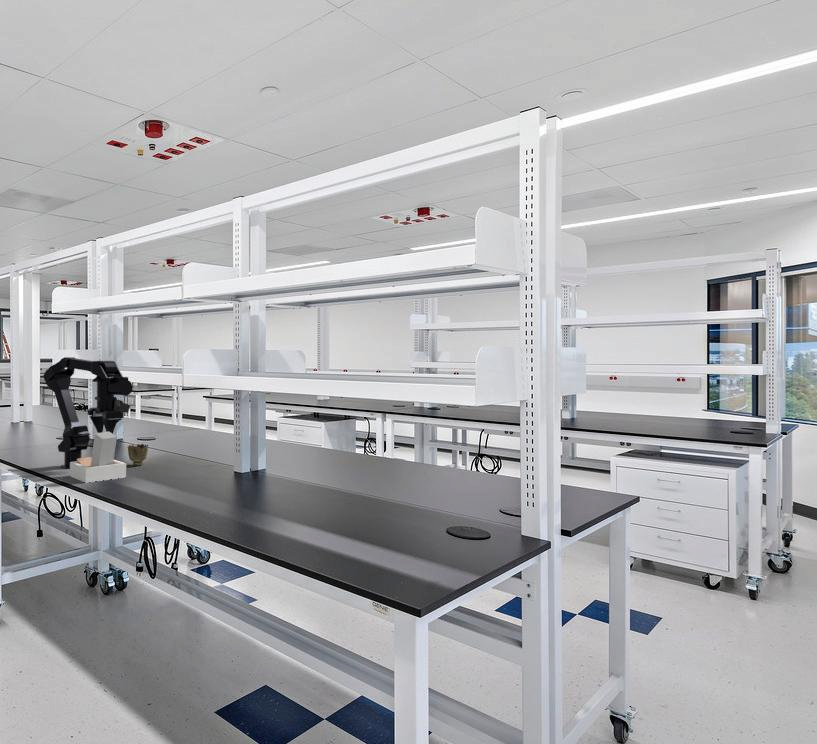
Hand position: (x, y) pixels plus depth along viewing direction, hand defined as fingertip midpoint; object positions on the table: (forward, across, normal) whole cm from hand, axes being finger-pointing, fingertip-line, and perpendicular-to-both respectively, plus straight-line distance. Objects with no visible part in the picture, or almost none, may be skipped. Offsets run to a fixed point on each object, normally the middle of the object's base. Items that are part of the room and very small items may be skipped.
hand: (105, 435), depth 215 cm
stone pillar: (+9, -13, +6) cm, 17 cm away
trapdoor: (+13, -9, +6) cm, 17 cm away
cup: (+13, +2, -13) cm, 19 cm away
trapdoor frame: (+13, -10, +6) cm, 17 cm away
